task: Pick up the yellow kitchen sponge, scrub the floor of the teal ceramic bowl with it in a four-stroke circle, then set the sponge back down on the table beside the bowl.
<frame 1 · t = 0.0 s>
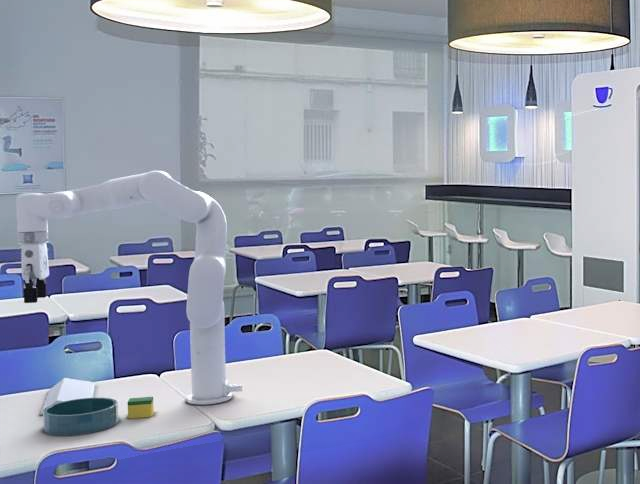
hand: (35, 300, 241), 31 cm above the table, tool pointing down, fingers open, 9 cm apart
crown molding: (69, 400, 255), on the table
sponge: (141, 415, 237), on the table
bowl: (81, 425, 229), on the table
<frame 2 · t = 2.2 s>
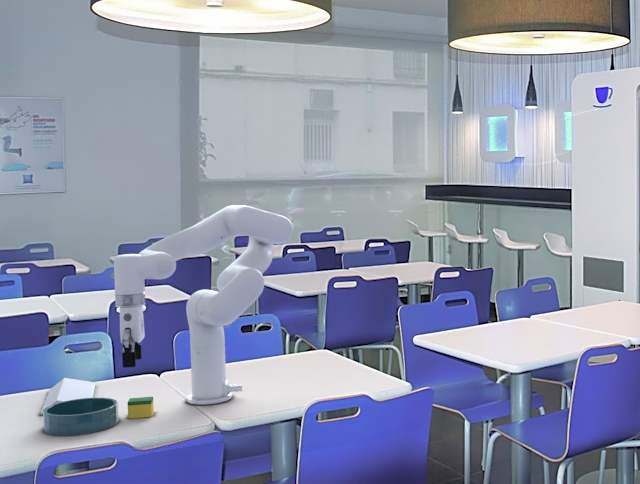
hand: (132, 363, 237), 14 cm above the table, tool pointing down, fingers open, 9 cm apart
nothing on the table moved.
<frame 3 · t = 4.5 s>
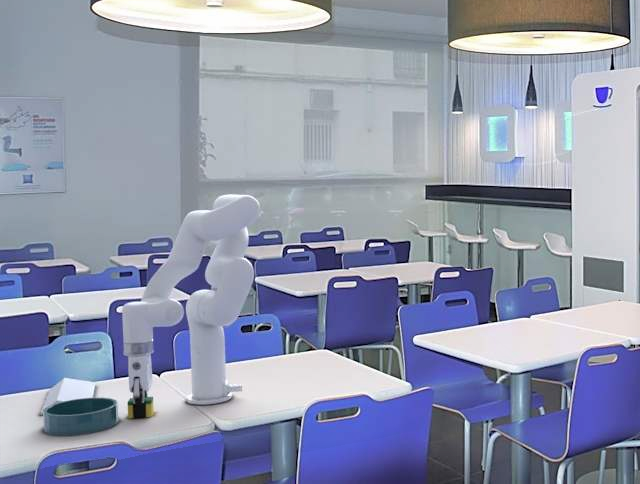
hand: (141, 414, 237), 0 cm above the table, tool pointing down, fingers closed on sponge, 4 cm apart
sponge: (141, 415, 237), on the table, touching gripper
everything else where it was.
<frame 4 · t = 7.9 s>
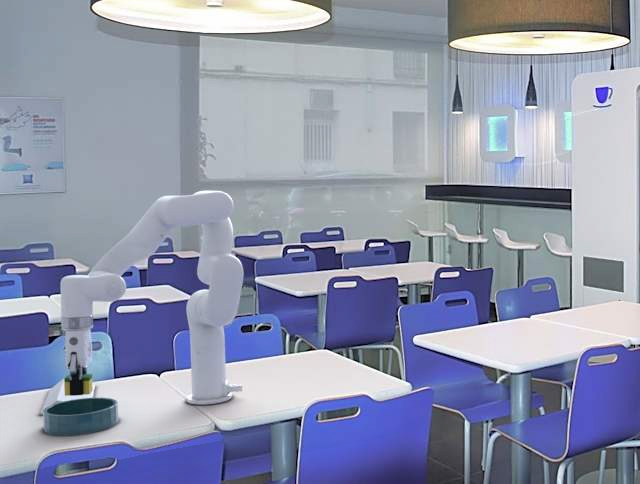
hand: (78, 392, 228), 9 cm above the table, tool pointing down, fingers closed on sponge, 4 cm apart
sponge: (78, 393, 228), point 9 cm above the table, touching gripper
everything else where it was.
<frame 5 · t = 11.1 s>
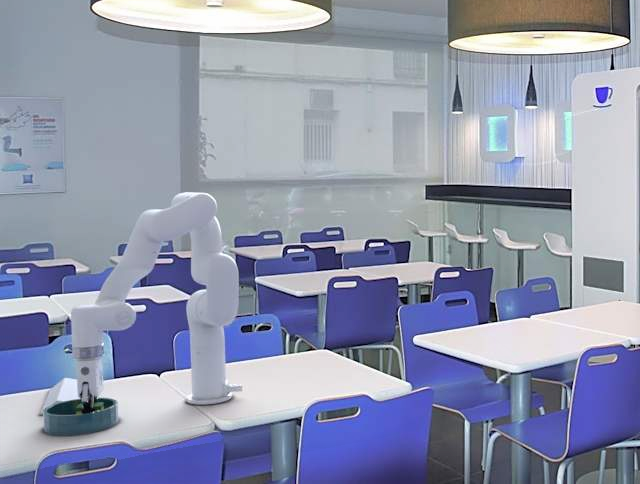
hand: (90, 420, 230), 1 cm above the table, tool pointing down, fingers closed on sponge, 4 cm apart
sponge: (90, 422, 230), point 1 cm above the table, touching gripper
everything else where it was.
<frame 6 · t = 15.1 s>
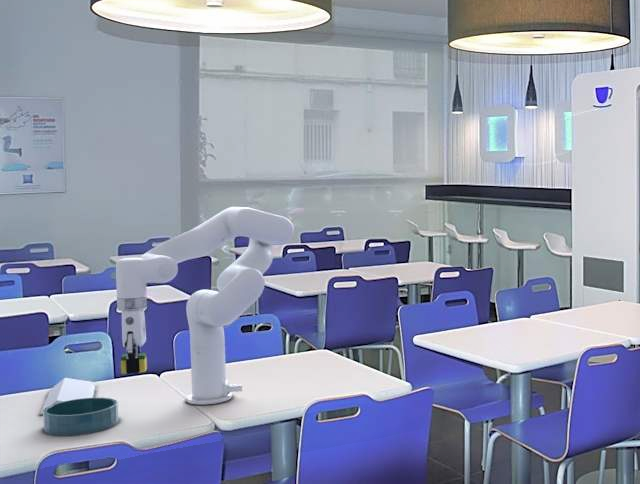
hand: (134, 370, 237), 12 cm above the table, tool pointing down, fingers closed on sponge, 4 cm apart
sponge: (134, 371, 237), point 12 cm above the table, touching gripper
everything else where it was.
when the fingers open (0 cm above the table, at t = 18.2 s): sponge stays where it is, on the table.
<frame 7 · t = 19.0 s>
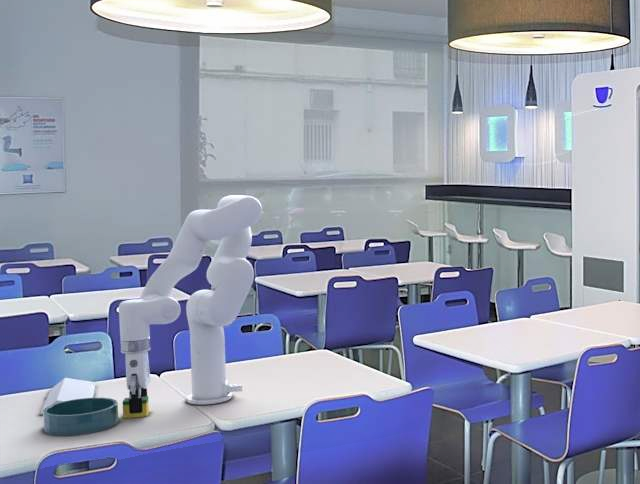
hand: (138, 407, 238), 2 cm above the table, tool pointing down, fingers open, 9 cm apart
sponge: (136, 415, 237), on the table
everything else where it was.
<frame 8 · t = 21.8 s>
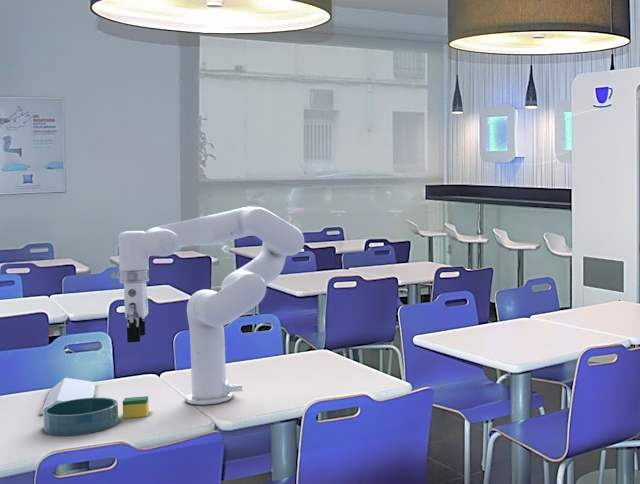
hand: (136, 338, 240), 20 cm above the table, tool pointing down, fingers open, 9 cm apart
nothing on the table moved.
at the end: sponge inside the target area (0.4 cm from its centre), on the table; the gripper is holding nothing; sponge touching table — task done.
